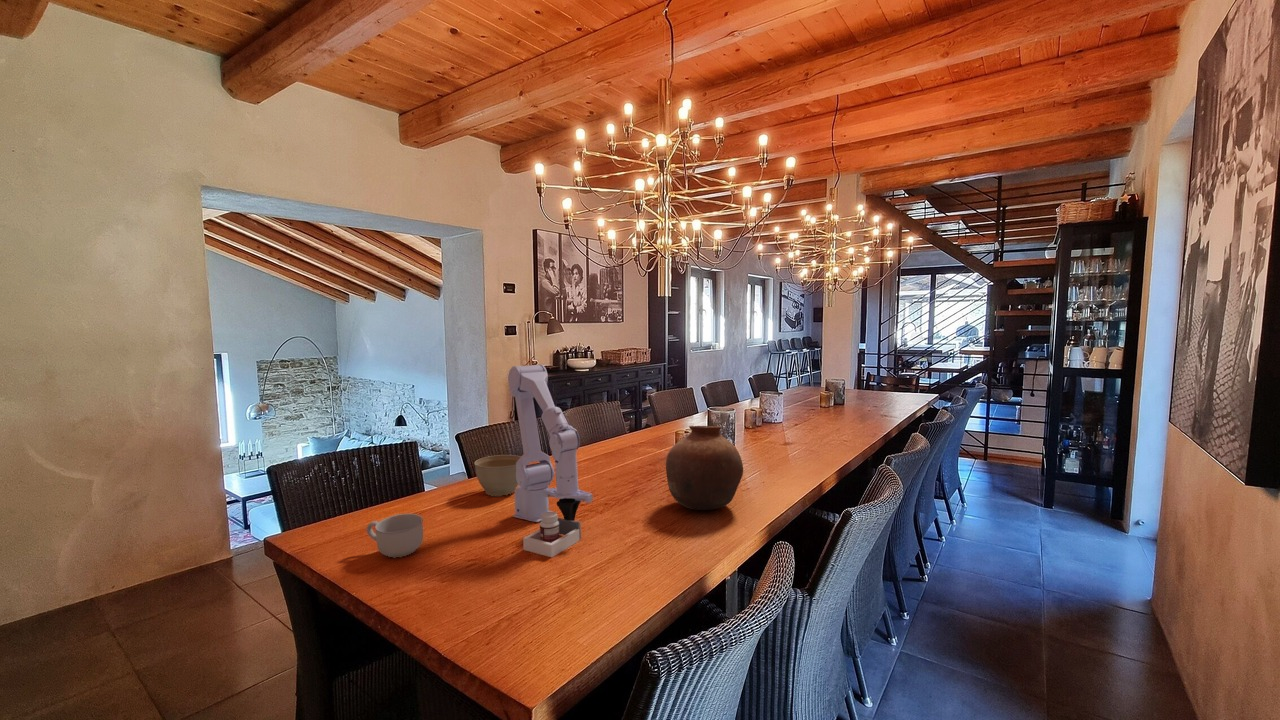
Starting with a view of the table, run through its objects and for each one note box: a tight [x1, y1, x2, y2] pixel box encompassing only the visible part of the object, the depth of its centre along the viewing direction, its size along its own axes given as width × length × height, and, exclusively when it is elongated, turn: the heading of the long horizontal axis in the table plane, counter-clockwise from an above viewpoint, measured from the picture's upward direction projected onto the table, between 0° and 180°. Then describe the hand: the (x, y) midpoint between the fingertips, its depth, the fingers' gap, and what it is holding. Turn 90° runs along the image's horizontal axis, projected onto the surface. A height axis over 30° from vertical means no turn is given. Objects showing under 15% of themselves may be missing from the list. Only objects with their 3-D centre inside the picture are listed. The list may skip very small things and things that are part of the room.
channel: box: [522, 529, 580, 558], centre depth 133 cm, size 9×11×3 cm
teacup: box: [366, 513, 424, 559], centre depth 131 cm, size 14×11×8 cm
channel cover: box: [557, 517, 582, 540], centre depth 138 cm, size 9×1×4 cm, turn 62°
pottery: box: [665, 425, 744, 511], centre depth 159 cm, size 23×23×25 cm
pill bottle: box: [539, 511, 560, 543], centre depth 132 cm, size 5×5×8 cm
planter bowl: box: [474, 454, 521, 497], centre depth 175 cm, size 16×16×11 cm
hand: (569, 525), depth 140 cm, fingers closed, pressing on channel cover
